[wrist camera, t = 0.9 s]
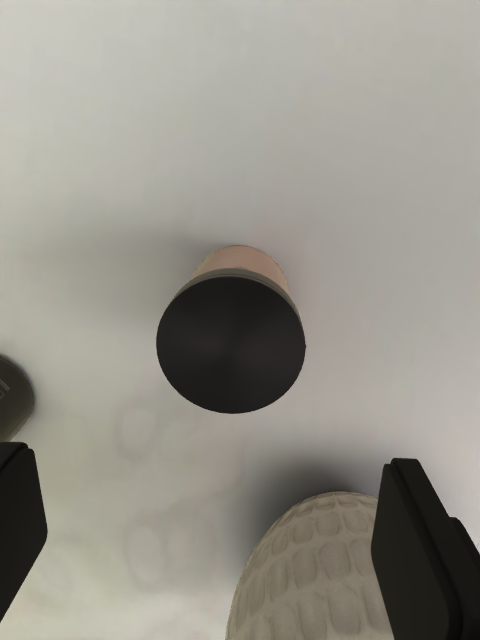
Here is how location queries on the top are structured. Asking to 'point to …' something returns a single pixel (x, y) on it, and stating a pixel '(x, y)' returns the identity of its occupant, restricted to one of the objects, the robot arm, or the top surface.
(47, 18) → the top surface
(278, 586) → the vase
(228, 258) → the cream jar
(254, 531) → the top surface
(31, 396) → the supplement bottle
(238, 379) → the jar lid
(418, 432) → the top surface
